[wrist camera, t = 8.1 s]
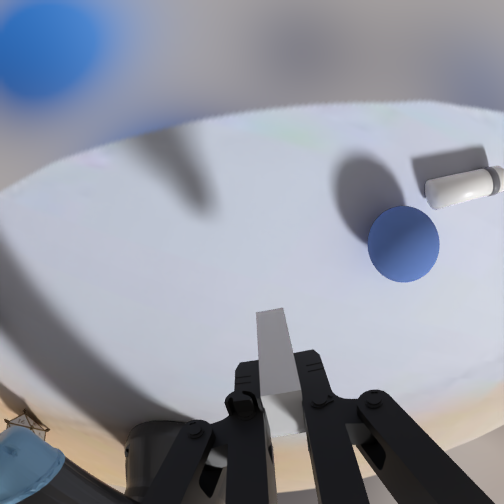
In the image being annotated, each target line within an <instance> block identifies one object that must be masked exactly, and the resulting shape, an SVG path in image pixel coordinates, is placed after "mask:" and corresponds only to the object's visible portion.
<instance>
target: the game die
mask: <svg viewBox="0 0 504 504" xmlns="http://www.w3.org/2000/svg"><path fill="white" fill-rule="evenodd" d="M23 412H24V414H22V415H20V416H18V417H16V418H14V419H12V420H10V421H9V420H7V419H4V420H5V422H6V423H7V428H9V427H12V426H22V427H25V428H27V429H29V430H31V431H32V432H34V433H35V434H36V435H37V436H39V437H40V438H41V439H42V440H44V441H45V436H46V432H48V431H49V430H50V429H46V430H44V429H43V428H42V427H41V426H39V425H38V424H37V423H36V422H35V421H33V420H32V419H31V418H30V417H29V416H28V415H26V410H25V409H24V410H23Z"/></svg>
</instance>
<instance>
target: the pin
mask: <svg viewBox="0 0 504 504" xmlns="http://www.w3.org/2000/svg"><path fill="white" fill-rule="evenodd" d="M500 192H504V169H503V168H502V167H500V166H493V167H485V168H481V169H478V170H473V171H468V172H463V173H459V174H454V175H449V176H445V177H440V178H435V179H431V180H427V182H426V183H425V195H426V199H427V202H428V204H429V205H430V207H431V208H432V209H434V210H437V209H441V208H445V207H448V206H452V205H456V204H459V203H463V202H467V201H471V200H474V199H478V198H482V197H485V196H491V195H495V194H497V193H500Z"/></svg>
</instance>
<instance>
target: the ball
mask: <svg viewBox="0 0 504 504" xmlns="http://www.w3.org/2000/svg"><path fill="white" fill-rule="evenodd" d="M368 252H369V256H370V259H371V261H372V263H373V265H374V266H375V268H376V269H377V270H378V271H379V272H380V273H381V274H382V275H383V276H385V277H386V278H388V279H390V280H393V281H396V282H411V281H415V280H417V279H419V278H421V277H423V276H424V275H426V274H427V273H428V272H429V271H430V270H431V268H432V267H433V265H434V264H435V262H436V260H437V257H438V253H439V236H438V232H437V229H436V227H435V225H434V223H433V222H432V220H431V219H430V218H429V217H428V216H427V215H426V214H425V213H423V212H422V211H420V210H418V209H416V208H413V207H409V206H398V207H393V208H391V209H388V210H387V211H385V212H383V213H382V214H381V215H380V216H379V217H378V218H377V219H376V220H375V222H374V223H373V225H372V227H371V229H370V232H369V236H368Z"/></svg>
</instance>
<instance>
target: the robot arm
mask: <svg viewBox="0 0 504 504" xmlns="http://www.w3.org/2000/svg"><path fill="white" fill-rule="evenodd" d="M256 320H257V338H258V357H259V360H255V361H248V362H241V363H240V364H239V365H238V367H237V368H236V370H235V389H234V392H232V393H230V394H229V395H228V396H227V397H226V399H225V402H224V403H225V405H226V408H227V411H228V413H229V416H228V417H226V418H225V419H223V420H221V421H219V422H216V423H213V424H209V423H208V422H207V421H203V420H193V421H190V422H188V423H186V424H185V423H179V422H170V421H153V422H147V423H143V424H140V425H138V426H136V427H135V428H133V429H132V430H131V432H130V434H129V436H128V439H127V442H126V445H125V457H126V463H125V467H126V484H127V486H126V490H125V494H123V493H121V492H119V491H118V490H116V489H114V488H112V487H111V486H109V485H107V484H106V483H104V482H102V481H101V480H99V479H97V478H96V477H94V476H93V475H91V474H90V473H88V472H87V471H85V470H84V469H82V468H81V467H79V466H78V465H76V464H75V463H73V462H72V461H71V460H69V459H68V458H67V457H65V455H64V454H63V453H62V451H60V450H59V449H57V448H53V447H52V446H51V445H49V444H48V443H46V442H45V441H44V440H42V439H41V438H40V437H39V436H37V435H36V434H35V433H34V432H32V431H31V430H29V429H27V428H25V427H22V426H12V427H9V428H7V429H6V430H4V431H3V432H2V433H0V504H278V503H277V491H276V479H275V467H274V455H273V446H272V443H271V438H272V437H279V436H285V435H291V434H297V433H303V432H306V434H307V442H308V451H309V453H310V458H311V464H312V469H313V475H314V480H315V486H316V492H317V497H318V503H319V504H370V503H369V500H368V497H367V493H366V490H365V486H364V483H363V479H362V476H361V473H360V470H359V466H358V463H357V460H356V457H355V453H354V450H353V447H352V445H356V447H357V448H358V449H359V451H360V452H361V454H362V455H363V456H364V458H365V459H366V461H367V462H368V463H369V465H370V466H371V467H372V469H373V470H374V472H375V473H376V474H377V476H378V477H379V478H380V480H381V481H382V483H383V484H384V485H385V487H386V488H387V489H388V491H389V492H390V493H391V495H392V496H393V497H394V499H395V500H396V501H397V503H398V504H495V503H494V502H493V501H492V500H491V499H490V498H489V497H488V496H487V495H486V494H485V493H484V492H483V491H482V490H481V489H480V488H479V487H478V486H477V485H476V484H475V483H474V482H473V481H472V480H471V479H470V478H469V477H468V476H467V475H466V473H464V471H462V469H461V468H460V467H459V466H458V465H457V464H456V463H455V462H454V461H453V460H452V459H451V458H450V457H449V456H448V455H447V454H446V453H445V452H444V451H443V450H442V449H441V448H440V447H439V446H438V445H437V444H436V443H435V442H434V441H433V440H432V439H431V438H430V437H429V436H428V434H427V433H426V432H425V431H424V430H423V429H422V428H421V427H420V426H419V425H418V424H417V423H416V422H415V421H414V420H413V419H412V418H411V417H410V416H409V415H408V414H407V413H406V412H405V411H404V410H403V409H402V408H401V407H400V406H399V405H398V404H397V403H396V402H395V401H394V400H393V399H392V397H391V396H390V395H389V394H387V393H386V392H384V391H381V390H369V391H366V392H364V393H363V394H362V395H360V397H359V398H358V399H344V398H340V397H338V396H336V395H335V394H334V393H333V392H332V390H331V387H330V384H329V381H328V378H327V375H326V372H325V370H324V367H323V364H322V361H321V358H320V355H319V354H318V353H317V352H316V351H314V350H313V349H312V350H308V351H303V352H297V353H293V350H292V345H291V341H290V336H289V332H288V327H287V323H286V318H285V314H284V310H283V308H279V309H273V310H267V311H262V312H256Z"/></svg>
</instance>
